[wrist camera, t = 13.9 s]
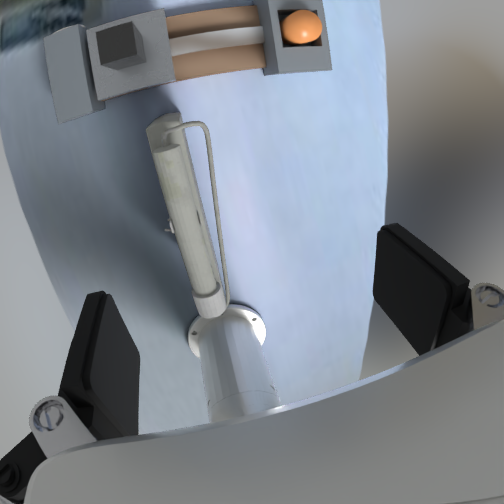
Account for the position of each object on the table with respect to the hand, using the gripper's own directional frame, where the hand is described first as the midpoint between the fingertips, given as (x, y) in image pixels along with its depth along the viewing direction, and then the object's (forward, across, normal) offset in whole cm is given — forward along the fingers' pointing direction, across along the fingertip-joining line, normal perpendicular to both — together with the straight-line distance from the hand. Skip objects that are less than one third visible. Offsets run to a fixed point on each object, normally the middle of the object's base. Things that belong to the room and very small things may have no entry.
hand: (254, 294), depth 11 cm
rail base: (+30, 0, -12) cm, 33 cm away
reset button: (+27, -12, -12) cm, 32 cm away
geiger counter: (+31, +2, +8) cm, 32 cm away
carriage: (+27, +5, -12) cm, 30 cm away
